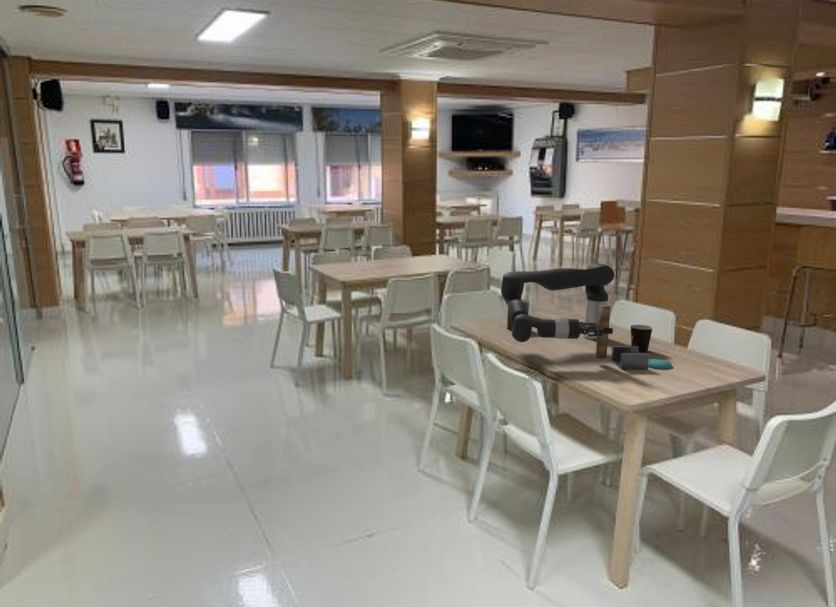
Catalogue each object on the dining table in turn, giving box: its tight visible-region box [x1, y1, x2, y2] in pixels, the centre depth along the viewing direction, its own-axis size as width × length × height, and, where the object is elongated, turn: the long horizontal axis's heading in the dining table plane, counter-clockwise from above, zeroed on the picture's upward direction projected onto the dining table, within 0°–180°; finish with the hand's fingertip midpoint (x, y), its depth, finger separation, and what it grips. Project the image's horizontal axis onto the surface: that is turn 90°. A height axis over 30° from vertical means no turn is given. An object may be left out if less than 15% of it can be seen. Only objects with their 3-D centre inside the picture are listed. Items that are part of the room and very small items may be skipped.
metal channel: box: [610, 345, 650, 371], centre depth 244 cm, size 12×10×6 cm
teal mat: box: [648, 358, 673, 370], centre depth 245 cm, size 10×10×1 cm
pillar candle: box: [506, 298, 530, 331], centre depth 298 cm, size 10×10×15 cm
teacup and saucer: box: [551, 314, 562, 319], centre depth 312 cm, size 9×8×4 cm
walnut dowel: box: [595, 304, 611, 360], centre depth 242 cm, size 4×4×20 cm
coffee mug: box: [630, 324, 653, 353], centre depth 263 cm, size 12×9×10 cm
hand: (610, 329), depth 241 cm, fingers closed on walnut dowel, 4 cm apart
